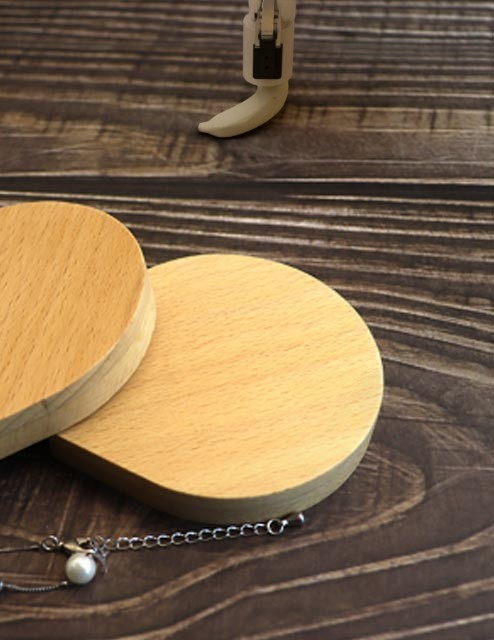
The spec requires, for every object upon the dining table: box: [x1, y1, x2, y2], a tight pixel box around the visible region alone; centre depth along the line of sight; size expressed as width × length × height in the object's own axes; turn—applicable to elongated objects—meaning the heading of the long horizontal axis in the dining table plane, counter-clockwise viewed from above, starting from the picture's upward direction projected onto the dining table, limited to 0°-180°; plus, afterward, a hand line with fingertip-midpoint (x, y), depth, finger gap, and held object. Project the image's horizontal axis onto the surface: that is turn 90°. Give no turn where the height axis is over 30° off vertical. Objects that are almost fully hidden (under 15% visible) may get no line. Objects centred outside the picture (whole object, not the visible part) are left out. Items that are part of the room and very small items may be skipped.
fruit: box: [198, 80, 290, 138], centre depth 119 cm, size 7×15×3 cm, turn 147°
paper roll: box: [242, 9, 296, 86], centre depth 114 cm, size 6×6×7 cm
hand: (268, 61), depth 115 cm, fingers closed on paper roll, 5 cm apart
